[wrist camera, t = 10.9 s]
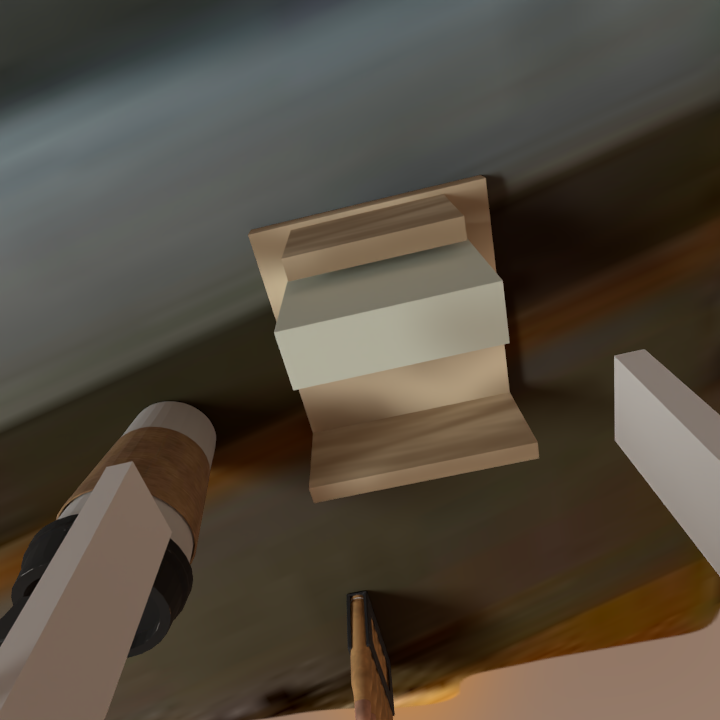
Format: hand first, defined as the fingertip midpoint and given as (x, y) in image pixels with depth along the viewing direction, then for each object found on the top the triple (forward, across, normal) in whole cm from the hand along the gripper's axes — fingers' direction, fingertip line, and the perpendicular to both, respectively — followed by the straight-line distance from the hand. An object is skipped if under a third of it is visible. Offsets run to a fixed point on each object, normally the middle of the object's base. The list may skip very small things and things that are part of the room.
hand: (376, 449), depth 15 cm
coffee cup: (+21, -16, -11) cm, 28 cm away
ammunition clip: (+21, -7, -36) cm, 42 cm away
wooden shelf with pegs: (+21, +1, -6) cm, 21 cm away
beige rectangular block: (+19, +1, -2) cm, 19 cm away
